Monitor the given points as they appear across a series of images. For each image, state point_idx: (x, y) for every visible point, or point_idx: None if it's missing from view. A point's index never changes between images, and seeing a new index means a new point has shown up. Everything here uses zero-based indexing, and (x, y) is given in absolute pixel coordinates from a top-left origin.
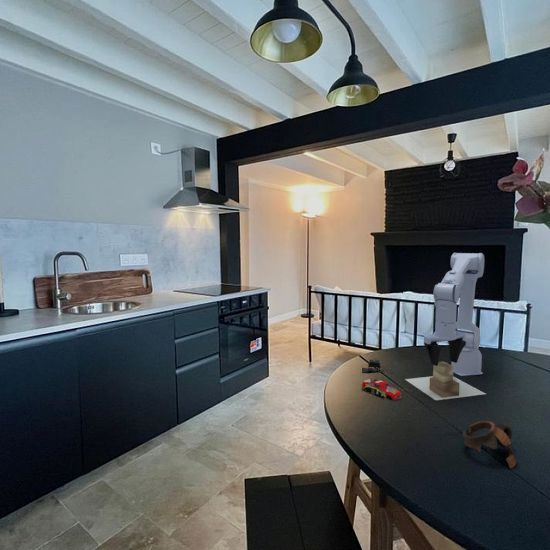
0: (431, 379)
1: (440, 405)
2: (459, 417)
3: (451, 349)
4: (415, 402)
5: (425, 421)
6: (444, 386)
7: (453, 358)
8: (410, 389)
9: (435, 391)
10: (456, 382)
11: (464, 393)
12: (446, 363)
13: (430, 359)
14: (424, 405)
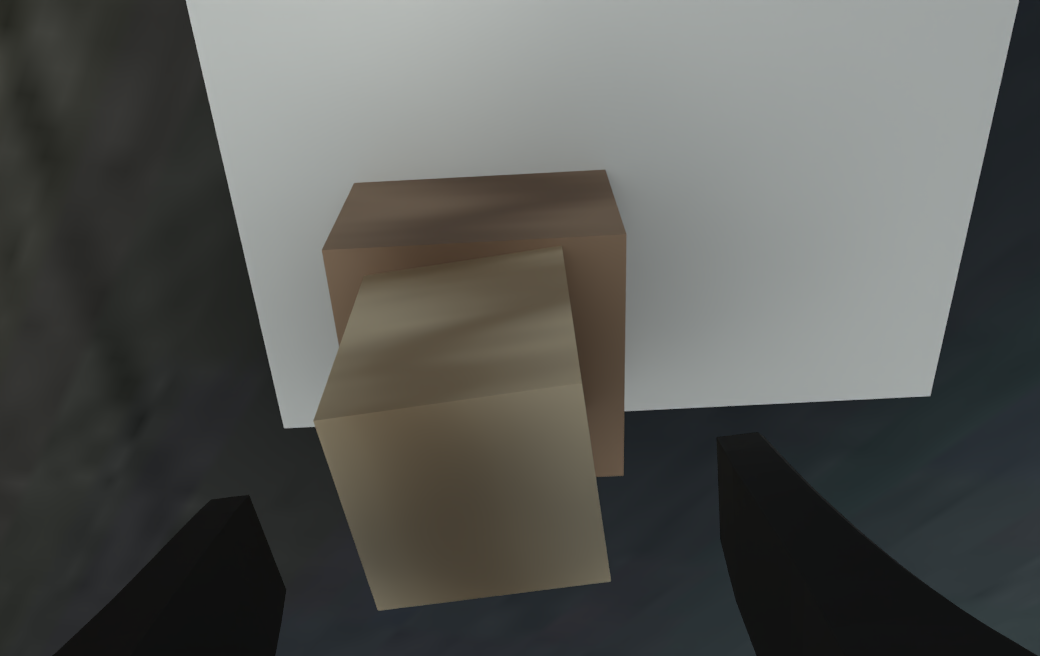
0: (332, 281)
1: (298, 477)
2: (347, 641)
3: (816, 650)
4: (63, 393)
5: (41, 649)
6: None
7: (737, 555)
8: (117, 85)
9: None
10: (600, 453)
11: (706, 350)
12: (564, 480)
13: (158, 562)
14: (136, 456)
